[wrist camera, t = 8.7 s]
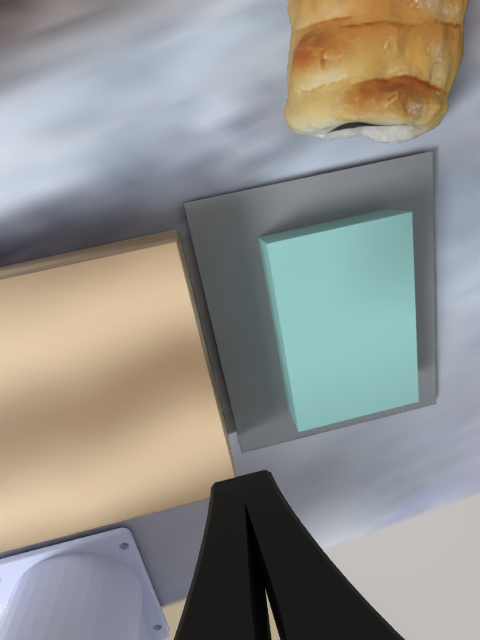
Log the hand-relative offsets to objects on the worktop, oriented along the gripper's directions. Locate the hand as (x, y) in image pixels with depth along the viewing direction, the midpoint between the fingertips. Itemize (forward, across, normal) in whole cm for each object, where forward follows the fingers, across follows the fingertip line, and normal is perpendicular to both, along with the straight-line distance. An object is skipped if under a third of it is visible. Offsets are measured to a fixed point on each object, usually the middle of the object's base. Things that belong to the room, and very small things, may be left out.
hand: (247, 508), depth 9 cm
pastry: (+11, -8, -12) cm, 18 cm away
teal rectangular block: (+8, -6, 0) cm, 10 cm away
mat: (+10, -6, 0) cm, 12 cm away
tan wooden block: (+10, +6, 0) cm, 12 cm away
